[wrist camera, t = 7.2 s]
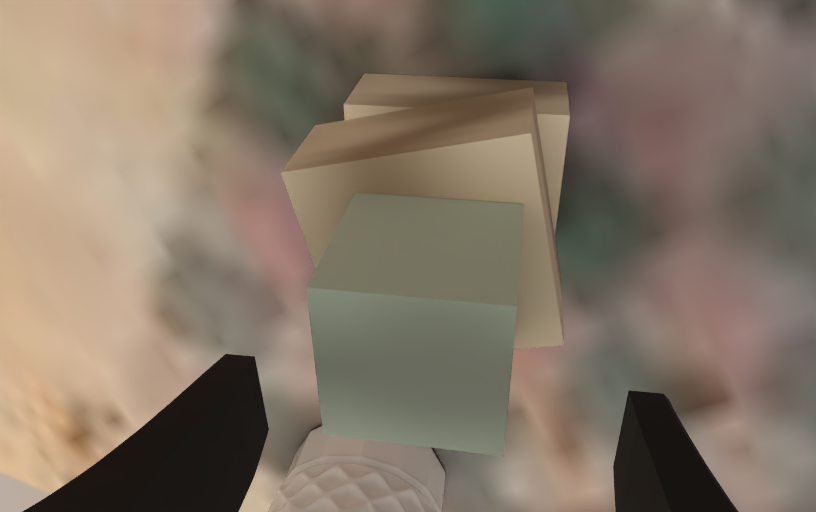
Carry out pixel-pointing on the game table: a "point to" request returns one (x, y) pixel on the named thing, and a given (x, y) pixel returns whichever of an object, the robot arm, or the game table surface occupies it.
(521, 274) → the slab upper
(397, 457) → the white cup
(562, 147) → the slab lower
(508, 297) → the cube
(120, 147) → the game table surface
